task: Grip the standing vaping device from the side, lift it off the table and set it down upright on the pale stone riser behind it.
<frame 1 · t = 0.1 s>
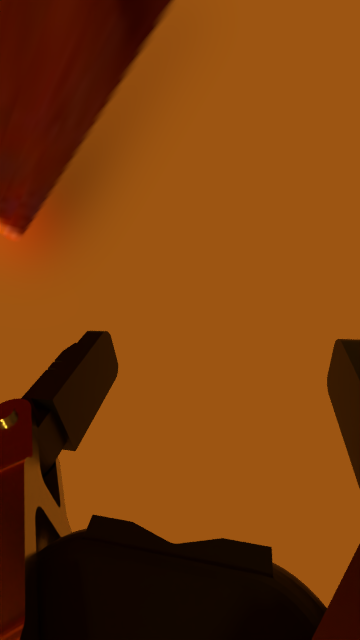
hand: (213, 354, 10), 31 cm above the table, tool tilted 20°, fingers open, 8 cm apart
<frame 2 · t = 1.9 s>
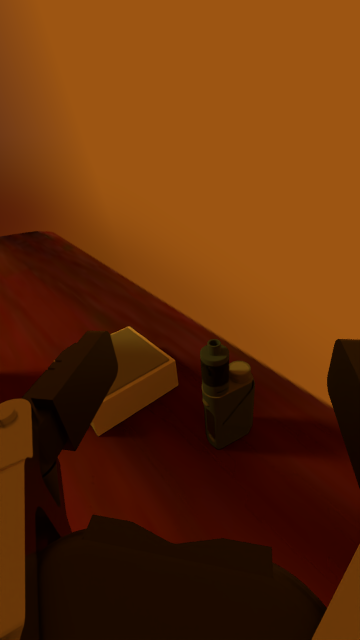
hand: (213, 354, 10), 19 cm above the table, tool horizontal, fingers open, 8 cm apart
vaping device: (228, 433, 30), on the table
riser: (119, 384, 37), on the table
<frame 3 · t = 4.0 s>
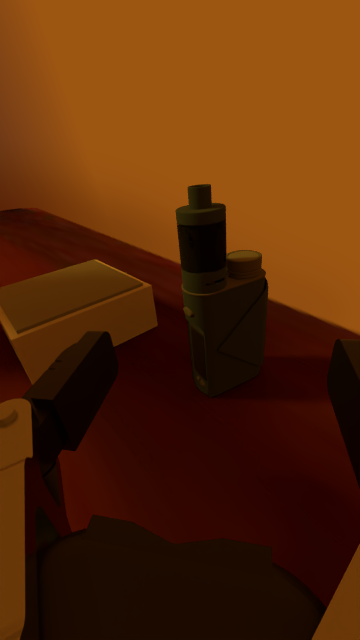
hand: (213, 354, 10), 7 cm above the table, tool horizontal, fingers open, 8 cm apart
vaping device: (227, 378, 20), on the table
riser: (77, 327, 27), on the table
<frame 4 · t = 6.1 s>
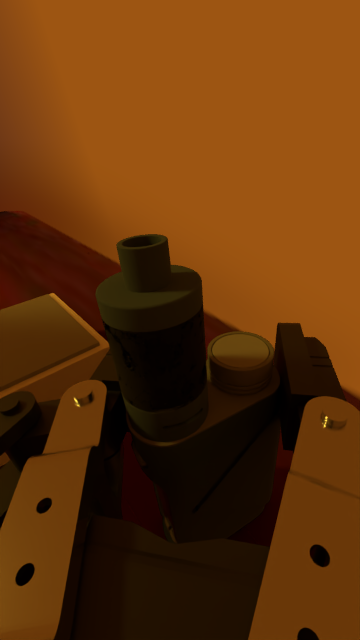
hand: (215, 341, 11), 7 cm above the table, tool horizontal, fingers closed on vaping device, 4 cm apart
vaping device: (215, 511, 13), on the table, touching gripper
riser: (17, 392, 20), on the table
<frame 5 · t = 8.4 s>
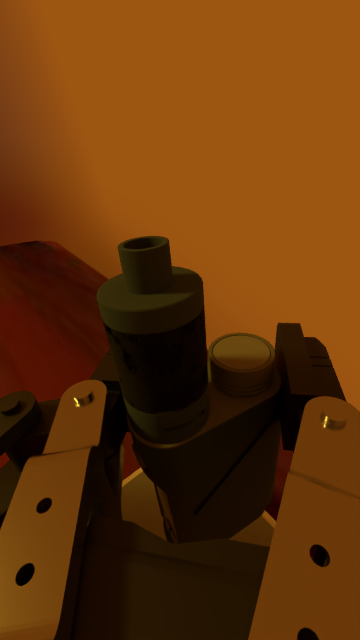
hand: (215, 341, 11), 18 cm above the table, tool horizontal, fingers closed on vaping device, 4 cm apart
vaping device: (215, 513, 13), point 10 cm above the table, touching gripper
riser: (180, 570, 19), on the table
when the fingers open (12 cm above the table, at t = 10.5 s): vaping device stays where it is, resting on riser.
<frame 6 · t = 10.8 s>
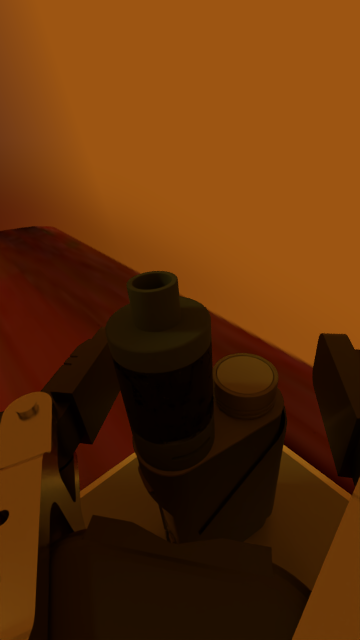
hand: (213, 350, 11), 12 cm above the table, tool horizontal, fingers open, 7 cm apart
vaping device: (217, 524, 13), point 4 cm above the table, touching riser
riser: (217, 559, 15), on the table
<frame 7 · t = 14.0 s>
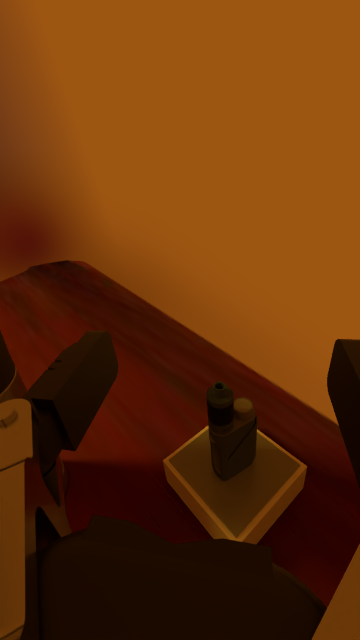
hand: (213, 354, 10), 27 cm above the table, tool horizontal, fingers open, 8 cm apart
vaping device: (233, 464, 31), point 4 cm above the table, touching riser
riser: (232, 484, 33), on the table
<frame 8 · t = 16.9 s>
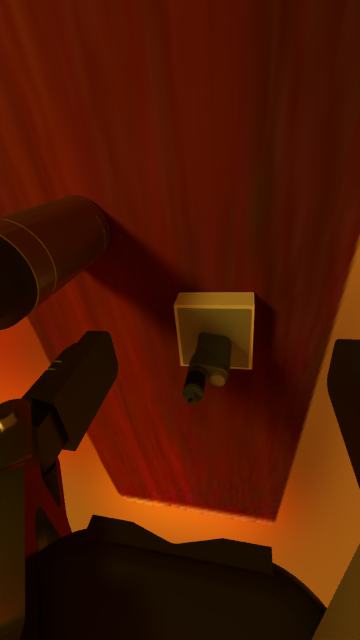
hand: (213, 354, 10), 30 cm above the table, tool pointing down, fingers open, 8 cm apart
vaping device: (213, 339, 42), point 4 cm above the table, touching riser
riser: (216, 323, 45), on the table
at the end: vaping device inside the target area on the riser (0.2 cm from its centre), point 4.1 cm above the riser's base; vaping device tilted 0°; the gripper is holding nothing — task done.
